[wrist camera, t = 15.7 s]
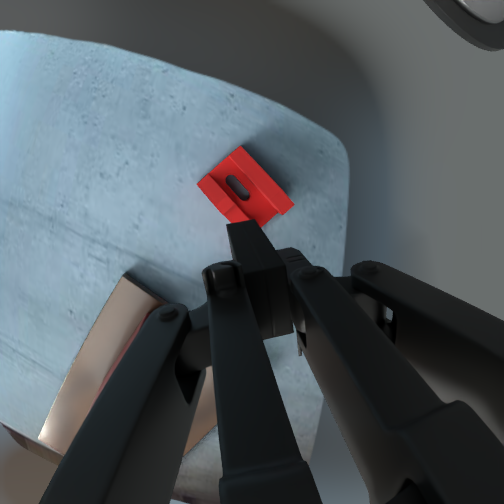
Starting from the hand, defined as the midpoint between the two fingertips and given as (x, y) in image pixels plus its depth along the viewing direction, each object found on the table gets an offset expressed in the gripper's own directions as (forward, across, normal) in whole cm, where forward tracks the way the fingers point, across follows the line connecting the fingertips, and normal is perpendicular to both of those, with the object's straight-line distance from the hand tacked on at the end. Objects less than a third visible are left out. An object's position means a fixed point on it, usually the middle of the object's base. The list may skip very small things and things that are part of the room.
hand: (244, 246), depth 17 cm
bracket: (+12, -2, -1) cm, 12 cm away
